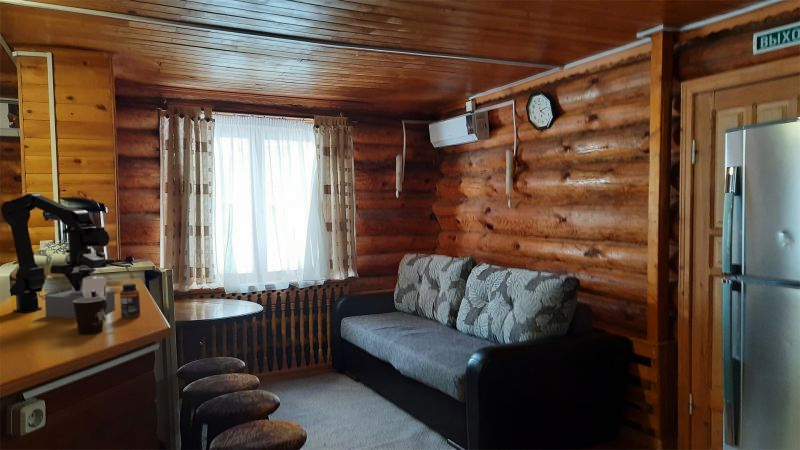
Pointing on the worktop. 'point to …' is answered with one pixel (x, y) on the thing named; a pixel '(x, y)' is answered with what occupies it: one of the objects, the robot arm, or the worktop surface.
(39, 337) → the worktop surface
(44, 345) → the worktop surface
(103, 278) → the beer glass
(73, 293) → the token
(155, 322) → the worktop surface
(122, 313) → the supplement bottle
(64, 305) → the coin box
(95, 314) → the coffee mug
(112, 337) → the worktop surface
